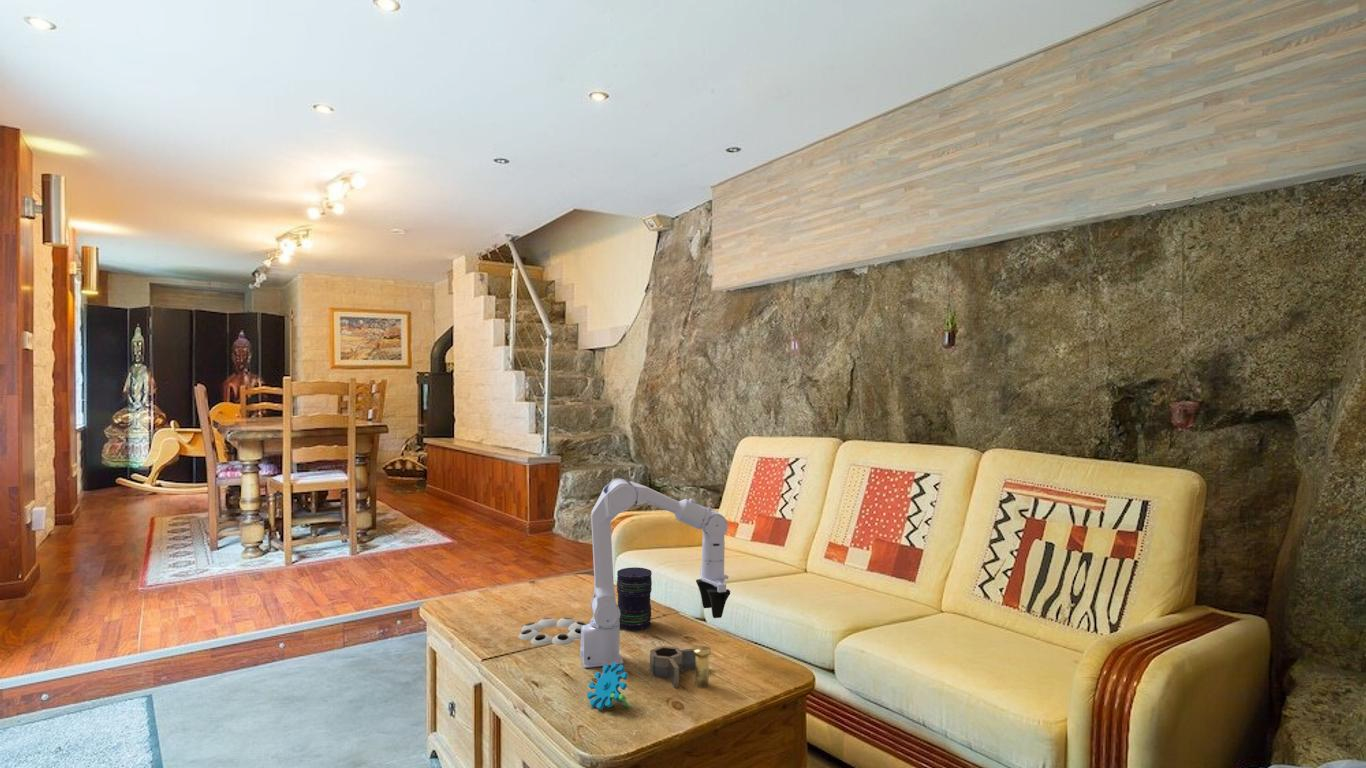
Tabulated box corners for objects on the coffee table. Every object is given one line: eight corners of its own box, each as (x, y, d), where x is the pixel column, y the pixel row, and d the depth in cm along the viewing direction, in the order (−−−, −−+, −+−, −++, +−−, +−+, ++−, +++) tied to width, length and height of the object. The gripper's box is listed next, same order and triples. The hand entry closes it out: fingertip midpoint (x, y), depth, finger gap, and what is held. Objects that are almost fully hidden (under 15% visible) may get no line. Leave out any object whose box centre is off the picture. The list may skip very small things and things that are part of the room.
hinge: (661, 689, 152) (661, 669, 152) (647, 666, 165) (648, 647, 165) (715, 683, 156) (716, 663, 156) (698, 660, 168) (698, 642, 168)
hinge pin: (695, 689, 152) (696, 653, 152) (690, 681, 156) (691, 646, 156) (712, 687, 154) (713, 651, 154) (707, 680, 157) (707, 645, 157)
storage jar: (618, 618, 197) (619, 566, 197) (652, 619, 197) (653, 567, 197) (613, 631, 188) (614, 576, 188) (649, 632, 187) (650, 577, 187)
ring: (600, 640, 182) (600, 633, 182) (527, 652, 173) (527, 644, 173) (578, 617, 199) (578, 610, 199) (510, 627, 191) (510, 619, 191)
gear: (577, 690, 147) (609, 652, 151) (593, 704, 150) (624, 666, 153) (601, 718, 138) (634, 677, 142) (618, 732, 141) (650, 691, 144)
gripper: (738, 565, 168) (737, 620, 168) (718, 551, 182) (717, 602, 182) (710, 567, 166) (710, 623, 166) (693, 552, 180) (692, 604, 180)
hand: (712, 612), depth 174 cm, fingers open, 7 cm apart
